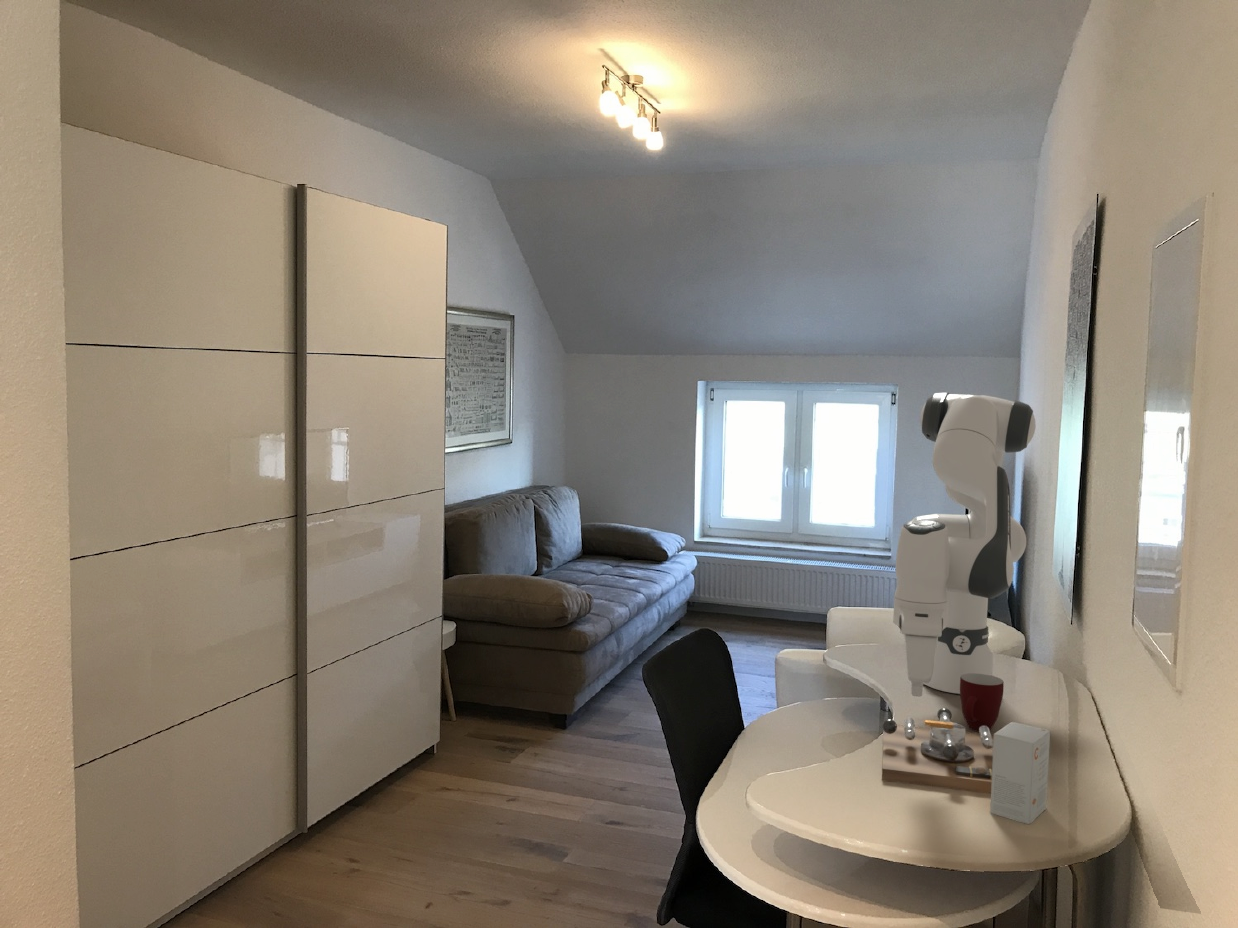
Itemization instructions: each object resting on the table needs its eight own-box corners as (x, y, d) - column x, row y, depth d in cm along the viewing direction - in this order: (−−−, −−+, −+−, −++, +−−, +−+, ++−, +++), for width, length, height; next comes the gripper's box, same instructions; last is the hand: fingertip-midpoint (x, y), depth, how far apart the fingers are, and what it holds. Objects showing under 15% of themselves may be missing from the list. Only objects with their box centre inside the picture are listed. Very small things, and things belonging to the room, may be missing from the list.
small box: (1006, 797, 163) (1011, 720, 162) (1047, 809, 159) (1051, 729, 158) (988, 813, 157) (992, 732, 156) (1029, 825, 153) (1034, 743, 152)
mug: (993, 742, 188) (996, 691, 188) (950, 733, 193) (952, 683, 192) (1004, 727, 197) (1007, 677, 197) (963, 718, 202) (965, 670, 201)
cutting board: (883, 733, 192) (883, 715, 192) (1003, 746, 186) (1004, 728, 186) (881, 779, 169) (882, 759, 169) (1019, 796, 163) (1021, 776, 163)
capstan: (881, 723, 191) (883, 697, 191) (1006, 736, 185) (1008, 710, 185) (880, 765, 170) (882, 737, 169) (1022, 782, 164) (1023, 752, 163)
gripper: (900, 601, 181) (896, 676, 182) (901, 625, 161) (898, 709, 162) (936, 604, 179) (932, 679, 180) (942, 629, 160) (938, 713, 161)
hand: (916, 693), depth 171 cm, fingers closed
